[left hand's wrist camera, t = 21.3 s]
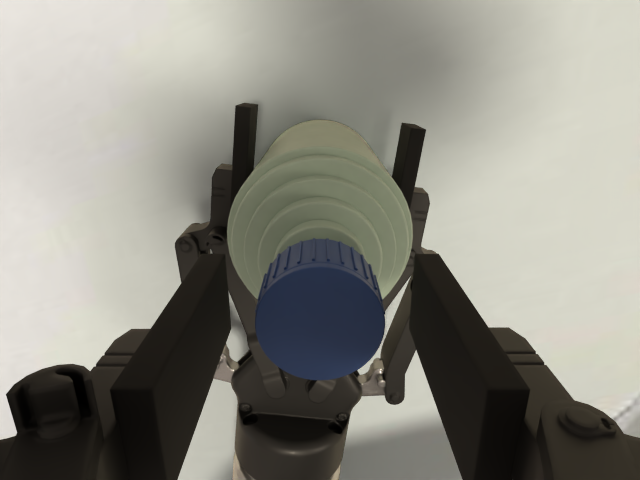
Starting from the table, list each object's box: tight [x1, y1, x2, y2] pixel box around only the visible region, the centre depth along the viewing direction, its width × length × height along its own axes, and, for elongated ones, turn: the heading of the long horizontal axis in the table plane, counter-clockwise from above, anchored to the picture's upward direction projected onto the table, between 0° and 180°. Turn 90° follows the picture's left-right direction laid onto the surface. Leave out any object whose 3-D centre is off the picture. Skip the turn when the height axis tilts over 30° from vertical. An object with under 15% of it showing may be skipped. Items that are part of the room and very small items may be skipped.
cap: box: [255, 238, 385, 380], centre depth 14 cm, size 4×4×2 cm
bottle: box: [227, 120, 413, 299], centre depth 22 cm, size 8×8×19 cm
